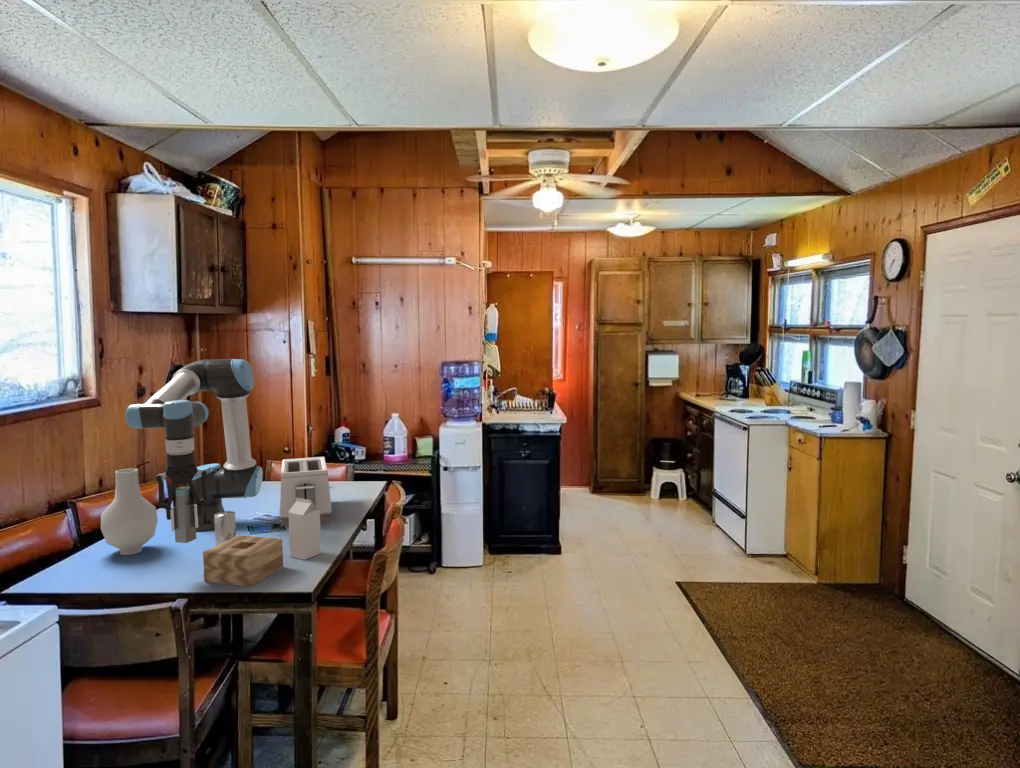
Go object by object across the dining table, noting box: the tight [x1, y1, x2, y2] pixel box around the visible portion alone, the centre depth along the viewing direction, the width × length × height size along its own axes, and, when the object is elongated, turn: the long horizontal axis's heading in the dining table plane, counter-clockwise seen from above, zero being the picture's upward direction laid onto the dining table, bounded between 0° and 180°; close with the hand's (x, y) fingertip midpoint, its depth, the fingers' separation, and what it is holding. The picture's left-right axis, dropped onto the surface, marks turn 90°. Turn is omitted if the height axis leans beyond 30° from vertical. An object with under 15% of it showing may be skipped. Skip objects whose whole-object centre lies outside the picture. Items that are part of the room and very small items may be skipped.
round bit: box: [214, 510, 237, 546], centre depth 213 cm, size 6×6×14 cm
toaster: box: [279, 456, 333, 528], centre depth 258 cm, size 19×34×21 cm, turn 19°
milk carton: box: [288, 498, 322, 561], centre depth 212 cm, size 7×7×19 cm
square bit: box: [172, 486, 197, 544], centre depth 192 cm, size 4×4×16 cm
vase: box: [100, 468, 159, 556], centre depth 216 cm, size 17×16×28 cm
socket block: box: [202, 534, 284, 587], centre depth 196 cm, size 16×16×9 cm
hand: (185, 527), depth 193 cm, fingers closed on square bit, 6 cm apart
